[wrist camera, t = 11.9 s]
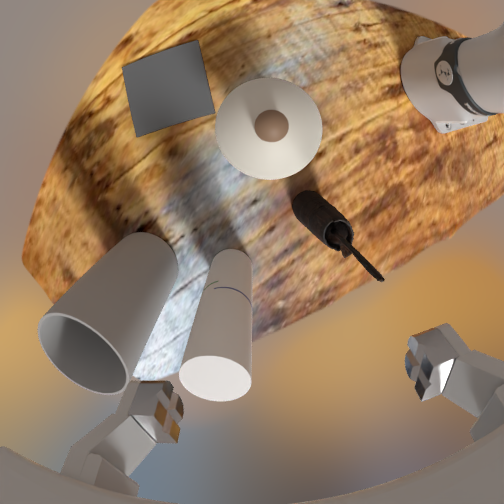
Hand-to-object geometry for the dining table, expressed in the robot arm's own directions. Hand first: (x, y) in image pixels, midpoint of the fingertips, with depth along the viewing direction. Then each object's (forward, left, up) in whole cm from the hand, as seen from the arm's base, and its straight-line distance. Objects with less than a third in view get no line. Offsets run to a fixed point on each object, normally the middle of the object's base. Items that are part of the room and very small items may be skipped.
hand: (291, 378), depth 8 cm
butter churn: (-7, +6, -37) cm, 38 cm away
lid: (-2, -8, -24) cm, 25 cm away
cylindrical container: (+8, +13, -37) cm, 40 cm away
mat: (+11, -19, -37) cm, 43 cm away
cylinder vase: (+23, +9, -37) cm, 45 cm away
